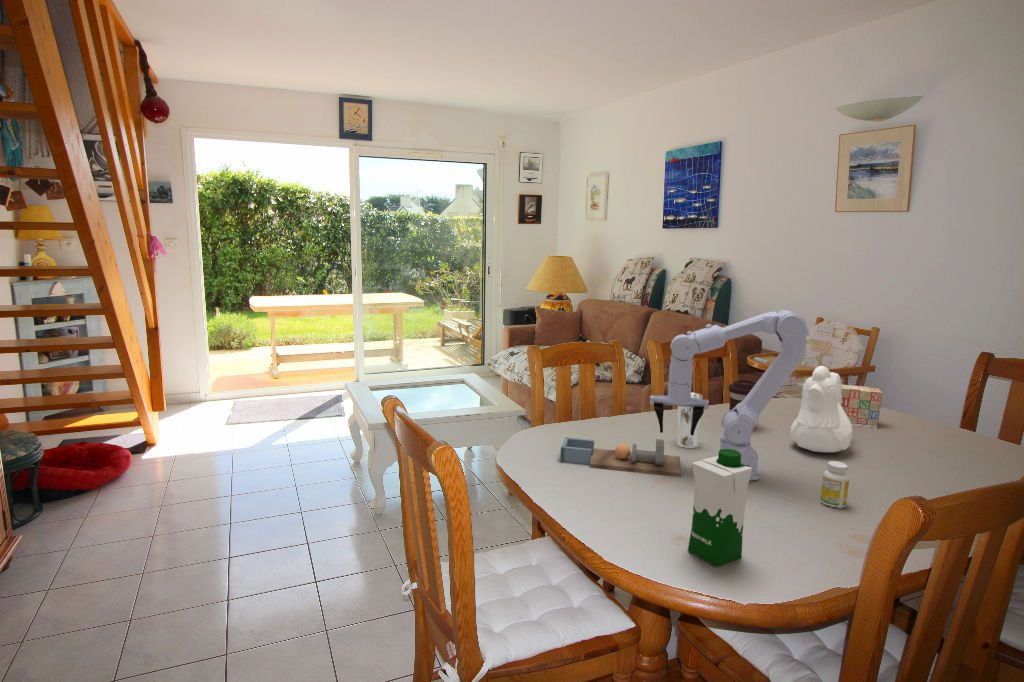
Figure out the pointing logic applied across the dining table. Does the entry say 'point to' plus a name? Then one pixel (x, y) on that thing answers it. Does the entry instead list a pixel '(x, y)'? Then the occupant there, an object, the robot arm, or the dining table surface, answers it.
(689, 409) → the silver soda can
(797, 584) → the dining table surface
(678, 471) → the launcher board
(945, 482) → the dining table surface
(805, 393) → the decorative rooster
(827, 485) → the supplement bottle
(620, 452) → the ball
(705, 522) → the milk carton
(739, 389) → the coffee cup
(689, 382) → the robot arm
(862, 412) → the stack of blocks
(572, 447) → the cup
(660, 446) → the grey h-shaped block
